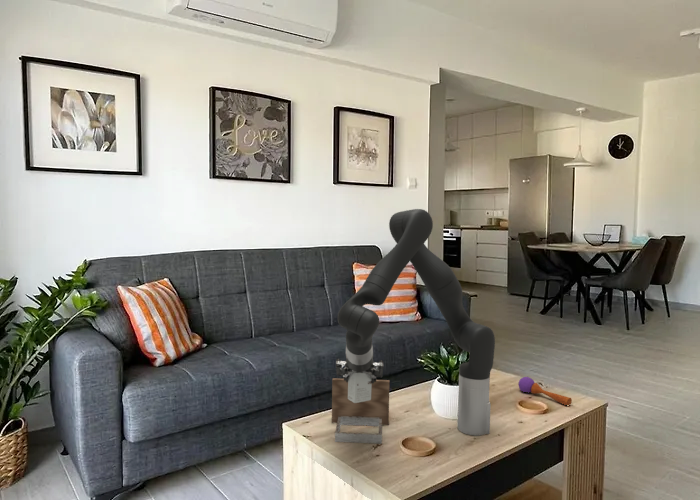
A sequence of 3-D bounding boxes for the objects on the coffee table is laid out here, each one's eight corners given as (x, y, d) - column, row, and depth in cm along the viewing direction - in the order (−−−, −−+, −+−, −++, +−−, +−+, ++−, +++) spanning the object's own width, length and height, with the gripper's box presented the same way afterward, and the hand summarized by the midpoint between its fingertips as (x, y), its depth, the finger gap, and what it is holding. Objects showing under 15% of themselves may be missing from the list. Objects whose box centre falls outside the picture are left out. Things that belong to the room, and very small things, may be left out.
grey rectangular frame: (381, 425, 157) (381, 417, 157) (381, 443, 145) (381, 435, 144) (338, 423, 158) (338, 415, 158) (334, 441, 145) (335, 433, 145)
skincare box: (355, 403, 147) (356, 363, 146) (346, 399, 150) (347, 359, 150) (372, 400, 150) (373, 360, 149) (363, 395, 154) (364, 356, 153)
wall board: (388, 419, 162) (389, 376, 161) (388, 424, 157) (389, 381, 156) (333, 417, 163) (333, 374, 162) (331, 422, 159) (332, 379, 158)
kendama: (564, 398, 173) (515, 378, 189) (564, 413, 174) (515, 392, 190) (574, 391, 176) (524, 372, 192) (573, 406, 178) (524, 386, 194)
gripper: (385, 341, 141) (383, 369, 154) (334, 339, 142) (337, 367, 154) (384, 365, 136) (383, 392, 149) (332, 363, 137) (335, 390, 149)
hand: (360, 380), depth 151 cm, fingers closed on skincare box, 7 cm apart
